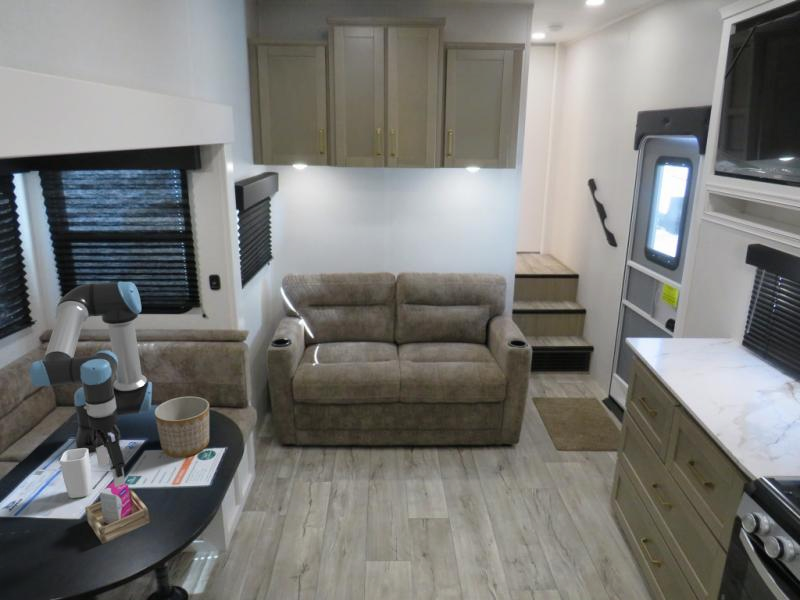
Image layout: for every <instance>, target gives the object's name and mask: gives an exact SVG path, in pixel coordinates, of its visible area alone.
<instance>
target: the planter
mask: <svg viewBox="0 0 800 600" xmlns="http://www.w3.org/2000/svg"><path fill="white" fill-rule="evenodd" d="M153 414H154V418H155V422H156V428H157V432H158V437H159V443H160V447H161V451H163V453H164V454H166V455H167V456H169V457H172V458H173V457H175V458H185V457H189V456H194V455H196V454H198V453H200V452H202V451H203V450H204V449H205V448H206V447H208V445H209V443H210V402H209V401H208V400H207V399H205V398H202V397H200V396H199V397H198V396H191V395H190V396H189V395H188V396H181V397H180V396H179V397H176V398H171V399H169V400H166V401H164V402H162V403H161V404H159V405H157V407H156V408H155V410H154V413H153Z"/></svg>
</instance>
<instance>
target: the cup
mask: <svg viewBox="0 0 800 600" xmlns="http://www.w3.org/2000/svg"><path fill="white" fill-rule="evenodd" d="M61 455H62V456H61V457H60V459H59V464H60V469H61V475H62V478H63V483H64V486H65V488H66V491H67V495H68V497H69V498H70V499H79V498H84V497H87V496H89V494H90V492H91V491H92V467H91V460H90V459H91V458H90V452H88V449H87V448H80V449H77V448H74V449H67V450H66V451H64V452H63V453H62V454H61Z"/></svg>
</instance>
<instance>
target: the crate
mask: <svg viewBox="0 0 800 600" xmlns="http://www.w3.org/2000/svg"><path fill="white" fill-rule="evenodd" d="M129 496H130V505H131V515H129V516H127V517H124V518H122V519H120V520H117V521H115V522H113V523H111V524H108V525H105V524H104V521H103V513H102V506H101V500H100V501H98V502H96V503H93V504H90V505H88V506H86V507H84V509H85V515H86V519H87V520H86V521H87V522H88V525H89V526H90V527H91V529H92V530H93V531H94V533H95V535H96V537H97V538H98V539H99V541H100V543H101V544H102V545H104V544H105V543H108V542H110V541H113V540H115V539H117V538H119V537H122V536H123V535H125V534H127V533H130V532H132V531H134V530H136V529H138V528H141V527H143V526H145V525H147V524H149V523H150V516H149V515H150V514H149V508H148V507H147V506H146V504H145V503H144V502H143V501H142V500H141V499H140V497H139V496H138V495H137V494H136V493H135V492H134V491H133V489H132V488H130V489H129Z"/></svg>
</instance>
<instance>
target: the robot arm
mask: <svg viewBox="0 0 800 600" xmlns="http://www.w3.org/2000/svg"><path fill="white" fill-rule="evenodd" d="M141 312H142V303H141V296H140V294H139V290H138V288H137V285H135V283H133V282H131V281H120V280H119V281H116V282H115V281H114V282H113V281H112V282H97V283H86V284H84V283H83V284H82V285H79V286H76V287H75V288H73V289H71V290H70V291H69V292H67V293H66V294H65V295H64V296H63V297H62V298H61V299H60V301H58V304H57V306H56V309H55V316H56V321H55V323H54V327H53V329H52V333H51V336H50V338H49V342H48V344H47V349H46V351H45V354H44V357H43V359H40V360H37V361H33V362H32V363H31V364H30V367H29V379H30V382H31V384H32V385H33V386H34V387H53V386H61V385H68V384H75V383H76V384H78V383H79V384H80V383H81V384H82V385H81V386H82V387H79V388H78V389H77V390H76V391H75V392H74V395H73V399H74V407H75V412H76V414H75V415H76V419H77V425H78V429H77V434H76V439H75V446H76V449H80V448H87V449H88V452H89V453H91V452H92V453H93V452H94V453H95V452H96V456H97V463H98V467H103V466H106V465H109V462H110V463H111V465H112V466H111V467H110V470H111V471H112V478H113V482H114V485H115V487H117V486H120V485H122V484H126V477H125V471H124V467H126V462H125V460H124V456H123V453H122V449H121V446H120V439H121V432H120V430H119V427H118V425H116V424H117V423H118V421H119V417H120V416H126V415H136V414H137V415H139V414H142V413H147V412H149V411H150V410H151V407H152V397H153V394H152V392H153V383H152V381H148V379H147V377H146V376H145V375H143V374H142V367H141V360H140V353H139V348H138V347H139V346H138V342H137V341H138V339H137V333H136V332H137V331H136V327H135V321H136V319H138V315H139V313H141ZM90 317H101V319H102V320H101V321H102V322H103V323H104V324H107V326H108V327H107V328H108V333H109V339H110V344H111V350H112V351H110V350H107V349H105V350H99V351H97V352H95V353H94V354H93V355H87V356H79V357H76V356H75V353H76V351H77V350H76V349H77V345H78V342H79V339H80V335H81V331H82V326H83V323H85V321H86V320H87V319H88V318H90ZM115 375H116V380H114V378H115ZM109 458H110V461H109Z"/></svg>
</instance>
